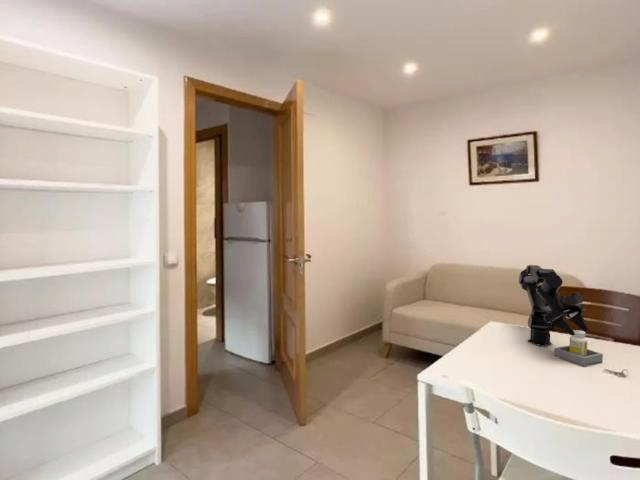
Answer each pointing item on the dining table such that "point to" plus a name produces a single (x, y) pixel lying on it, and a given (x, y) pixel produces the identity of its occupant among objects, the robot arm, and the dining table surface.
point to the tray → (582, 361)
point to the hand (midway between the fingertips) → (580, 333)
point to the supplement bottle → (578, 343)
